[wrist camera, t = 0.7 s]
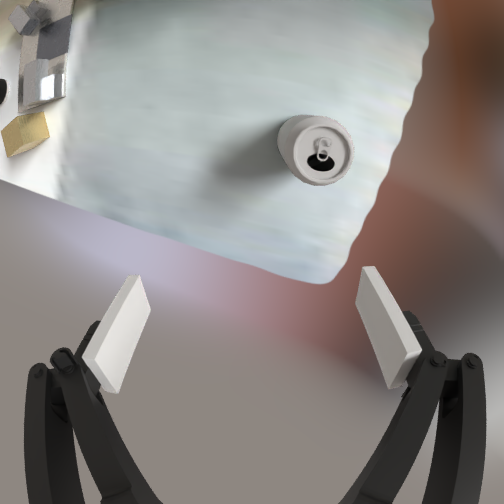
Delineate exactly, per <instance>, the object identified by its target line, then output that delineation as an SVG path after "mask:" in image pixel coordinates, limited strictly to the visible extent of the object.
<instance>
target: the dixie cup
mask: <svg viewBox="0 0 504 504" xmlns="http://www.w3.org/2000/svg"><path fill="white" fill-rule="evenodd" d="M9 92H10V84H9V82H8V81H7V80H4V79H0V104H2V103H4V102H5V101H6V100H7V98H8V95H9Z"/></svg>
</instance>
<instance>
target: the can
mask: <svg viewBox="0 0 504 504" xmlns="http://www.w3.org/2000/svg"><path fill="white" fill-rule="evenodd" d="M277 146H278V149H279V151H280V154H281V156H282V157H283V159H284V161H285V162H286V164H287V166H288V167H289V169H290V170H291V171H292V173H293V174H294V175H295V176H296V177H297V178H298V179H300V180H301V181H303V182H305V183H308V184H311V185H314V186H325V185H329V184H332V183H335V182H336V181H338V180H339V179H341V178H342V177H344V175H345V174H346V173H347V172H348V170H349V169H350V167H351V164H352V162H353V159H354V145H353V141H352V137H351V136H350V134H349V133H348V131H347V130H346V128H345V127H344V126H342V125H341V124H340V123H339V122H338V121H336V120H333V119H331V118H328V117H323V116H314V115H298V116H294V117H291V118H290V119H289V120H287V121H286V122H285V123H284V124H283V125H282V127H281V128H280V130H279V133H278V136H277Z"/></svg>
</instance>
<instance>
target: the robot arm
mask: <svg viewBox="0 0 504 504" xmlns="http://www.w3.org/2000/svg"><path fill="white" fill-rule="evenodd" d="M355 304H356V306H357V308H358V311H359V313H360V316H361V318H362V321H363V323H364V326H365V328H366V331H367V333H368V336H369V338H370V341H371V343H372V346H373V348H374V351H375V353H376V356H377V359H378V362H379V364H380V367H381V370H382V372H383V375H384V378H385V381H386V384H387V387H388V389H392V388H396V387H401V386H402V385H403V383H404V382H405V380H407V383H408V387H407V389H406V390H405V392H404V393H403V395H402V396H401V397H403V398H402V400H401V402H400V404H399V406H398V408H397V410H396V412H395V415H394V416H393V418H392V420H391V422H390V425H389V426H388V428H387V430H386V432H385V434H384V436H383V437H382V439H381V441H380V443H379V444H378V446H377V448H376V450H375V451H374V453H373V455H372V456H371V458H370V460H369V461H368V463H367V464H366V466H365V467H364V469H363V471H362V472H361V474H360V475H359V477H358V478H357V479H356V481H355V482H354V484H353V485H352V487H351V488H350V489H349V491H348V492H347V493H346V495H345V496H344V498H343V499H342V500H341V501H340V502H339V503H338V504H392V502H393V500H394V498H395V497H396V495H397V493H398V491H399V489H400V488H401V486H402V484H403V483H404V481H405V479H406V477H407V475H408V473H409V471H410V469H411V467H412V465H413V463H414V461H415V459H416V457H417V455H418V453H419V450H420V448H421V446H422V443H423V441H424V439H425V437H426V434H427V432H428V429H429V426H430V424H431V421H432V419H433V416H434V413H435V410H436V407H437V404H438V401H439V411H438V423H437V431H436V439H435V445H434V452H433V458H432V463H431V468H430V474H429V477H428V482H427V486H426V490H425V494H424V498H423V501H422V504H478V502H479V497H480V491H481V485H482V479H483V471H484V461H485V448H486V395H485V382H484V371H483V364H482V361H481V359H480V358H479V357H478V356H477V355H476V354H473V353H467V354H465V355H464V356H463V358H462V359H461V360H453V359H452V360H451V359H447V357H446V356H445V355H444V354H443V353H441V352H438V351H435V349H434V347H433V346H432V344H431V342H430V340H429V338H428V336H427V335H426V333H425V331H423V328H422V326H421V325H420V322H419V321H418V319H417V317H416V316H415V315H414V314H412V313H411V312H410V311H404V312H402V311H401V310H400V308H399V306H398V305H397V303H396V301H395V300H394V298H393V296H392V294H391V293H390V291H389V289H388V288H387V286H386V284H385V283H384V281H383V279H382V278H381V276H380V274H379V273H378V271H377V270H376V268H375V267H374V266H369V267H363V268H362V273H361V278H360V283H359V289H358V294H357V298H356V303H355ZM150 311H151V309H150V306H149V303H148V300H147V297H146V294H145V291H144V288H143V284H142V281H141V278H140V276H139V275H129V276H128V277H127V279H126V280H125V282H124V284H123V285H122V287H121V288H120V290H119V292H118V293H117V295H116V297H115V298H114V300H113V302H112V303H111V305H110V307H109V308H108V310H107V312H106V314H105V315H104V317H103V319H102V321H96V322H94V323H93V324H92V325H91V326H90V328H89V329H88V331H87V333H86V335H85V336H84V338H83V340H82V342H81V343H80V345H79V347H78V349H77V351H76V353H75V355H73V354H72V352H71V350H70V349H68V348H64V347H63V348H60V349H58V350H56V351H55V352H54V353H53V354H52V356H51V358H50V362H51V364H52V366H53V367H54V369H48V368H47V367H46V365H45V364H43V363H37V364H35V365H34V366H33V367H32V368H31V369H30V371H29V374H28V382H27V391H26V402H25V418H24V458H25V473H26V484H27V492H28V499H29V504H85V501H84V497H83V493H82V488H81V483H80V479H79V473H78V467H77V460H76V453H75V446H74V437H73V429H74V432H75V435H76V437H77V440H78V443H79V446H80V448H81V451H82V453H83V456H84V459H85V461H86V463H87V465H88V468H89V470H90V472H91V475H92V477H93V479H94V481H95V483H96V485H97V487H98V489H99V491H100V493H101V495H102V500H101V501H100V502H101V504H163V503H162V502H161V501H160V500H159V499H158V498H157V497H156V495H155V494H154V492H153V491H152V489H151V488H150V486H149V485H148V483H147V482H146V480H145V479H144V477H143V475H142V474H141V472H140V471H139V469H138V467H137V465H136V464H135V462H134V460H133V459H132V457H131V455H130V453H129V451H128V450H127V448H126V446H125V444H124V442H123V440H122V438H121V436H120V434H119V432H118V430H117V428H116V426H115V424H114V422H113V420H112V418H111V415H110V413H109V411H108V409H107V407H106V404H105V402H104V399H103V397H102V395H101V393H100V392H99V389H100V386H102V387H103V388H104V390H105V391H106V392H111V393H116V394H118V392H119V390H120V387H121V384H122V381H123V378H124V376H125V373H126V370H127V368H128V365H129V363H130V360H131V358H132V355H133V352H134V350H135V347H136V345H137V342H138V340H139V337H140V335H141V333H142V330H143V328H144V325H145V323H146V321H147V318H148V316H149V313H150Z"/></svg>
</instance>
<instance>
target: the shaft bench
mask: <svg viewBox="0 0 504 504" xmlns="http://www.w3.org/2000/svg"><path fill="white" fill-rule="evenodd" d="M73 6H74V0H39V1H35V0H33V1H32V3H31V4H30V5H29V6H23V5H17V7H16V8H15V9H14V11H13V12H12V14H11V15H10V17H9V18H8V19H9V20H10V22H11V23H12V24H13V26H14V27H15V29H16V30H17V31H18V33H19V34H20V35H23V40H22V47H21V56H20V68H19V88H18V112H19V113H21V112H23V111H26V110H28V109H31V108H33V107H36V106H39V105H41V104H44V103H47V102H50V101H53V100H56V99H59V98H62V97H65V96H66V65H67V53H68V46H69V36H70V28H71V21H72V15H73V14H72V11H73Z"/></svg>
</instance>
